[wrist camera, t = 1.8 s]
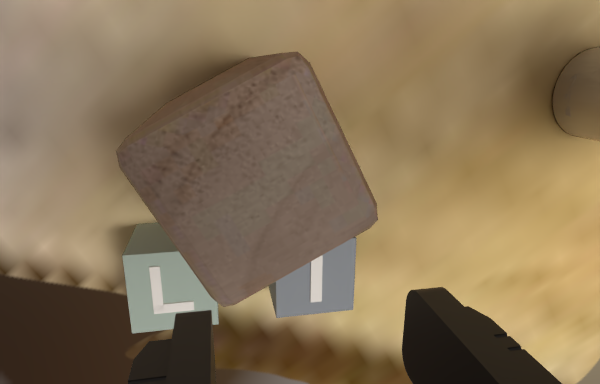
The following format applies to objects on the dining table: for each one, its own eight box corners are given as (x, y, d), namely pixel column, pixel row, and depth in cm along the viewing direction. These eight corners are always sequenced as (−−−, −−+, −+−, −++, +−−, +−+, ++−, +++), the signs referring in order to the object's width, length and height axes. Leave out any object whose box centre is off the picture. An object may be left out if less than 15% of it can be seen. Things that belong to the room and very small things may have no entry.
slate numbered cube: (334, 211, 43) (357, 239, 36) (332, 275, 45) (353, 312, 38) (263, 215, 42) (273, 245, 35) (264, 281, 44) (274, 321, 37)
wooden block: (308, 150, 41) (391, 224, 22) (217, 201, 40) (220, 321, 22) (258, 52, 37) (304, 41, 19) (157, 107, 37) (101, 152, 18)
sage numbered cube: (213, 219, 41) (214, 249, 34) (217, 285, 43) (218, 327, 36) (135, 223, 40) (119, 256, 33) (142, 292, 42) (129, 337, 35)
